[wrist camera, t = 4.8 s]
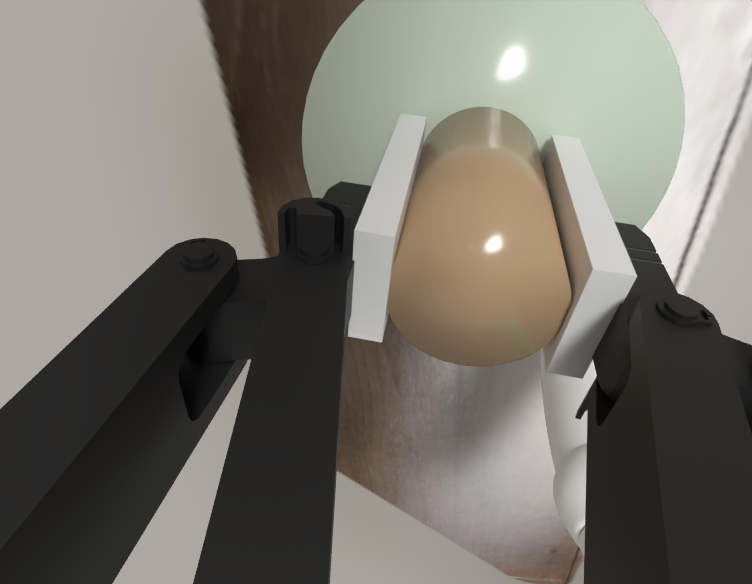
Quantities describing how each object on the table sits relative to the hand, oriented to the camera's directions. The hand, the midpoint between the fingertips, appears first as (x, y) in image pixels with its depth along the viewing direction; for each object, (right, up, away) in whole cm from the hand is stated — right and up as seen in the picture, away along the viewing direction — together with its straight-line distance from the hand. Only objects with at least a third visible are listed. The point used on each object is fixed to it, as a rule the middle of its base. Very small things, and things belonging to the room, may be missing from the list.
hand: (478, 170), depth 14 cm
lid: (0, +1, +1) cm, 1 cm away
